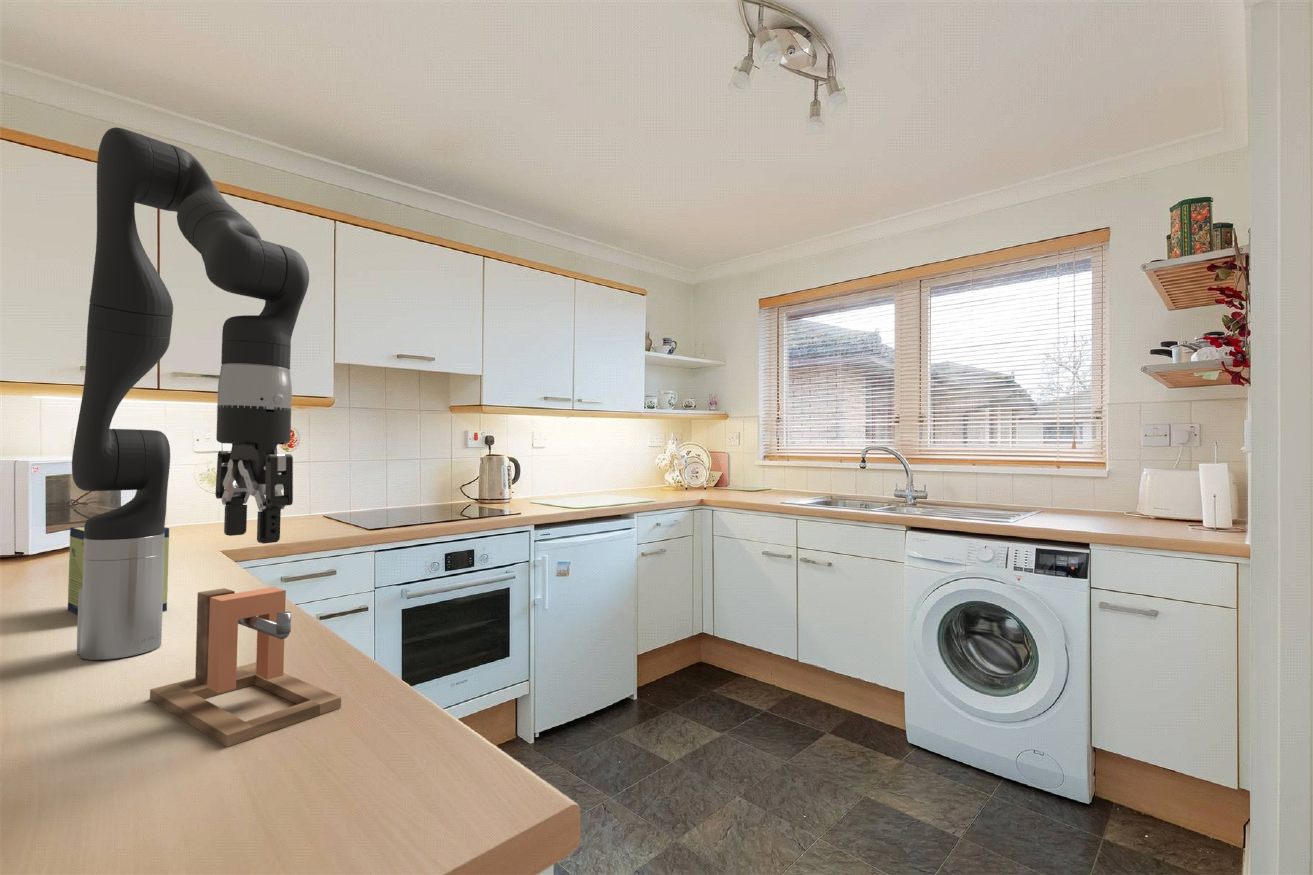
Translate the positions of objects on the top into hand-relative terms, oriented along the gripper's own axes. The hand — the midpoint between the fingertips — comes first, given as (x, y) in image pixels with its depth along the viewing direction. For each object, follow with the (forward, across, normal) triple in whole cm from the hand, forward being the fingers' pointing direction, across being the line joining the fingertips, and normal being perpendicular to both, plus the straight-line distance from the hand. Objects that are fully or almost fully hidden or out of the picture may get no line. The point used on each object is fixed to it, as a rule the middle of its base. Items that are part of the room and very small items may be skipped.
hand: (251, 538), depth 75 cm
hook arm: (+10, +1, 0) cm, 11 cm away
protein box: (+21, -65, +6) cm, 69 cm away
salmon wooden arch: (+17, 0, 0) cm, 17 cm away
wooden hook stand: (+20, 0, 0) cm, 20 cm away
